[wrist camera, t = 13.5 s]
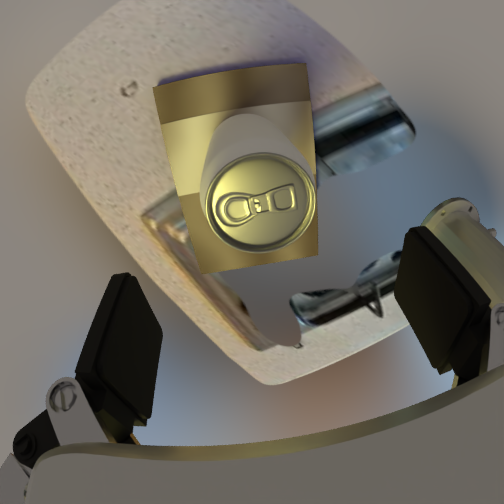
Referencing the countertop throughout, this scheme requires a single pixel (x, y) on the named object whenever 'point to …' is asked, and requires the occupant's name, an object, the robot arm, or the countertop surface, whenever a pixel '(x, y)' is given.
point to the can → (256, 186)
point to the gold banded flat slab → (203, 126)
